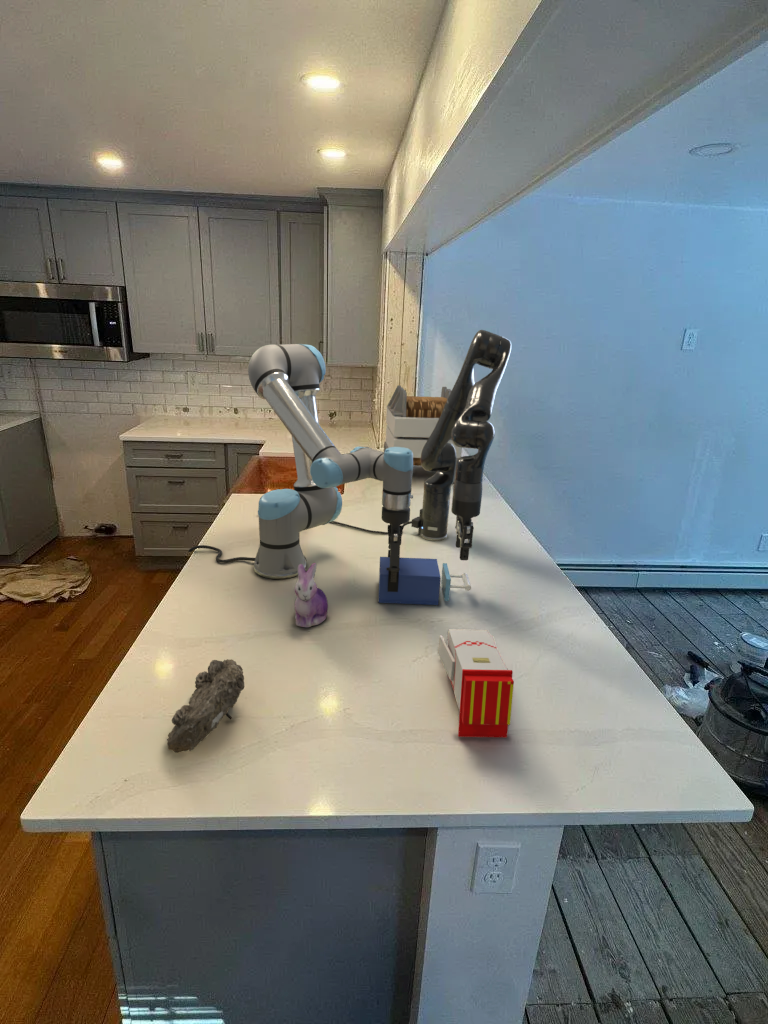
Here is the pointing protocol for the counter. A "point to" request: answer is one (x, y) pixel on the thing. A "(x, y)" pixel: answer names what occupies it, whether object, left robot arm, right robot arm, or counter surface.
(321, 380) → the left robot arm
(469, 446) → the right robot arm
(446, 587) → the drawer
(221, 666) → the fossil
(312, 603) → the figurine
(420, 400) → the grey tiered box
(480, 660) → the toy
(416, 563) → the cabinet
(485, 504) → the counter surface
